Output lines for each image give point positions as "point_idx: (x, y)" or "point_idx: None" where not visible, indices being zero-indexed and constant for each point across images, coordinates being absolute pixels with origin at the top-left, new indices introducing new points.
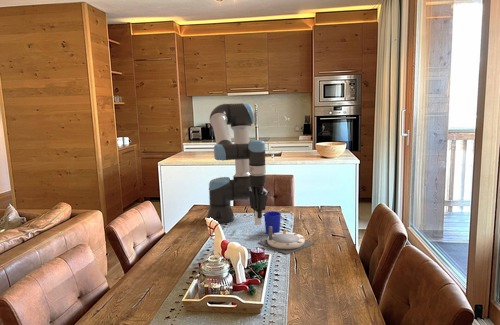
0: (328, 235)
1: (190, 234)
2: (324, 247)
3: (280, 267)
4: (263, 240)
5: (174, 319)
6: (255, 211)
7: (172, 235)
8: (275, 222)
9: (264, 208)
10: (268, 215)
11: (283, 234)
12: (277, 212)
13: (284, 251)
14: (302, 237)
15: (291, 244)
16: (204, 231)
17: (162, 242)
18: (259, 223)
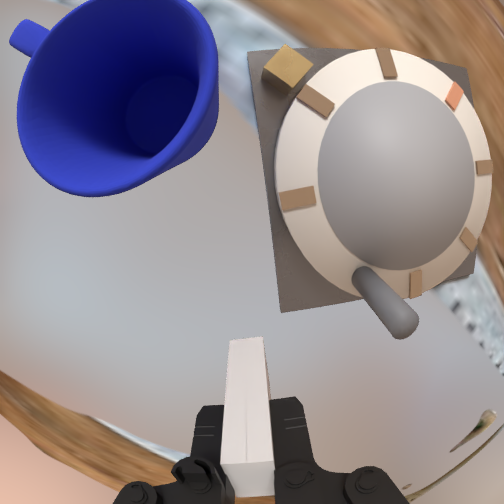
0: None
1: (51, 428)
2: (498, 77)
3: (491, 343)
4: (278, 271)
5: (422, 494)
6: (254, 494)
7: (54, 451)
8: (215, 109)
9: (389, 491)
10: (51, 107)
11: (347, 135)
12: (93, 5)
13: (460, 268)
14: (454, 93)
15: (479, 223)
16: (27, 388)
17: (103, 483)
18: (266, 363)
